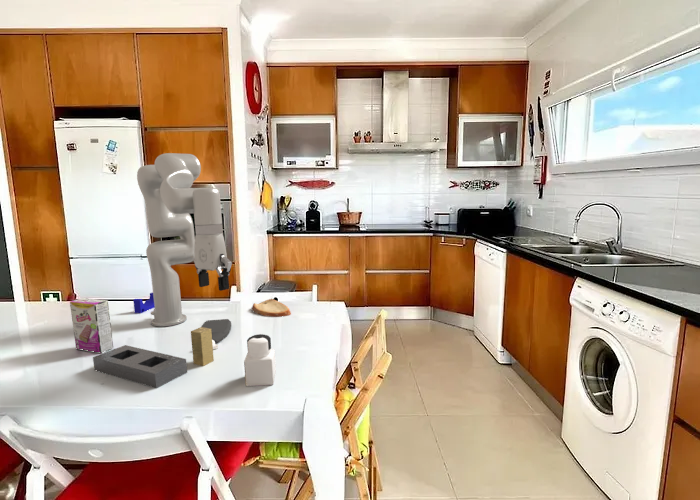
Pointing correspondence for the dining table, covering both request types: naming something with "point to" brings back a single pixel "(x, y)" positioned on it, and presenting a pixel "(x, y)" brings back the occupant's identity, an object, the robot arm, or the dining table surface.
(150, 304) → the cable clip
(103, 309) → the candy bar box
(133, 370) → the grey peg hole block
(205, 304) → the dining table surface
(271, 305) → the slice of bread
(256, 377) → the medicine bottle
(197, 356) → the brass peg
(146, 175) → the robot arm
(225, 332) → the spray bottle
